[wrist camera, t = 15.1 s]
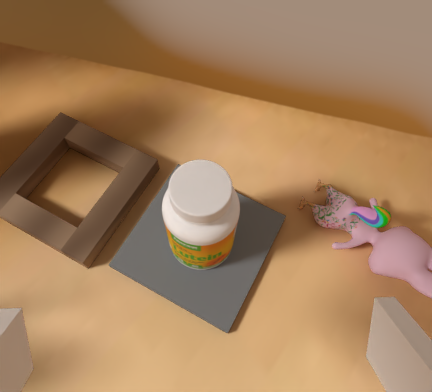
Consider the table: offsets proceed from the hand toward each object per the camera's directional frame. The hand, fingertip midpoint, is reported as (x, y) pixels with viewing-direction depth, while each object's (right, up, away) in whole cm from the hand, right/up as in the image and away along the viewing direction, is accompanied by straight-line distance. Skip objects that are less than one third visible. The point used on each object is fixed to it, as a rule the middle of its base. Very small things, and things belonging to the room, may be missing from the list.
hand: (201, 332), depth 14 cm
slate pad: (-1, +1, +18) cm, 18 cm away
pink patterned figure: (+14, 0, +19) cm, 23 cm away
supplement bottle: (-1, +1, +18) cm, 18 cm away
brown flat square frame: (-12, +6, +20) cm, 24 cm away
